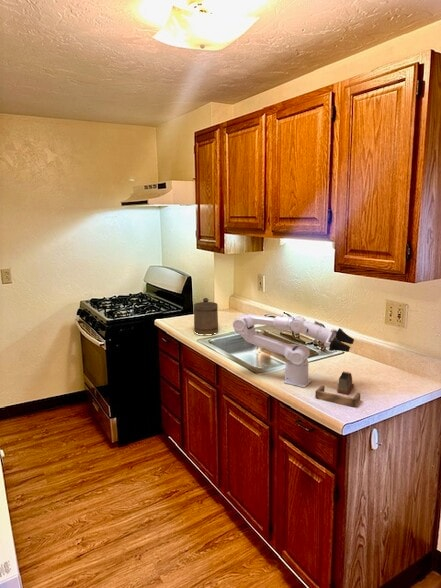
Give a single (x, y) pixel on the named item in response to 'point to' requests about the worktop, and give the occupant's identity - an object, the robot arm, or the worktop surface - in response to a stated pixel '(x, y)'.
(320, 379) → the worktop surface
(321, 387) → the cradle
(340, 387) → the electronic device
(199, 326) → the wooden container
